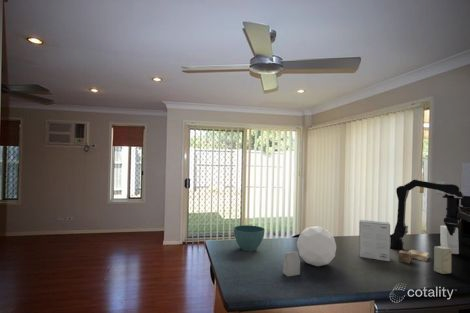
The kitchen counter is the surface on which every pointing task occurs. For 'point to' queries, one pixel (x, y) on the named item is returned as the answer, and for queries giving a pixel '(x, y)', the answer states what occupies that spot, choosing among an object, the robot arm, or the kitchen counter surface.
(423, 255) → the oak block
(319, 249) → the ball
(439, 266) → the skincare box
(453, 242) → the skincare box
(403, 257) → the wooden cube
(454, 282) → the kitchen counter surface
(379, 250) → the hard drive box
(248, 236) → the plant pot
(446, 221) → the robot arm
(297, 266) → the grey upright block
